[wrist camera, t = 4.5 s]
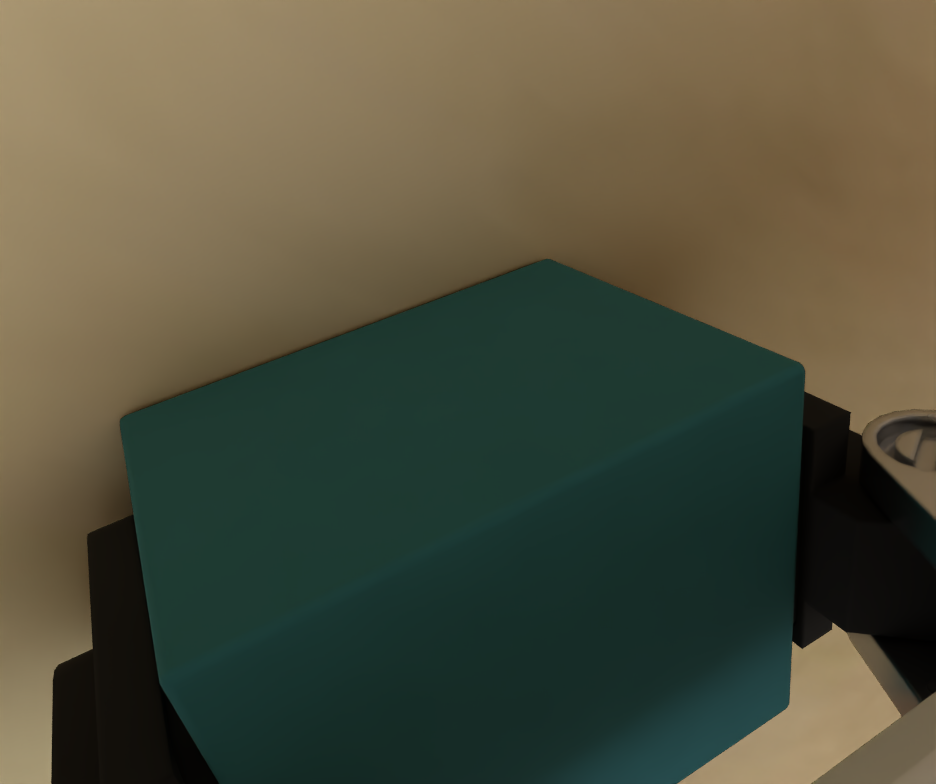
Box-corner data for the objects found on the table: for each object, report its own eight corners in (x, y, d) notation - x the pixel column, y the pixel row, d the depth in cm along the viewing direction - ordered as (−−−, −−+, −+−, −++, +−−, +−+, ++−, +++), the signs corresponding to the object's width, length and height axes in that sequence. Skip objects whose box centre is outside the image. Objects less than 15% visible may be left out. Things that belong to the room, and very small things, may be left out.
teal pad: (548, 254, 10) (810, 362, 7) (585, 523, 13) (793, 708, 9) (116, 416, 9) (155, 684, 5) (256, 694, 11) (352, 1010, 7)
